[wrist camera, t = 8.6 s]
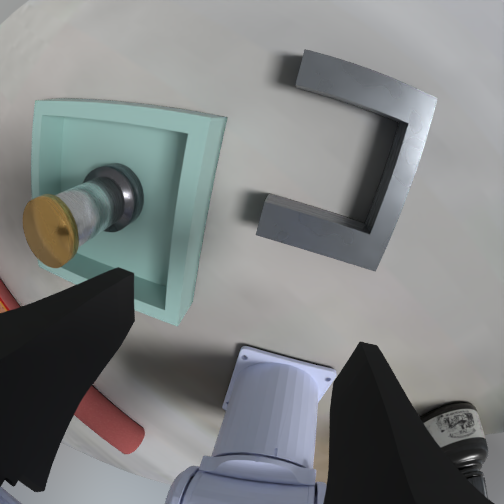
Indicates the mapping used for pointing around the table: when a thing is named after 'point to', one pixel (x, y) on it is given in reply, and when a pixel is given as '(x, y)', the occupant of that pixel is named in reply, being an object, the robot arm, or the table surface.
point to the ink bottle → (460, 439)
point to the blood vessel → (96, 406)
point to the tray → (153, 183)
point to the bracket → (393, 179)
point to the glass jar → (82, 213)
